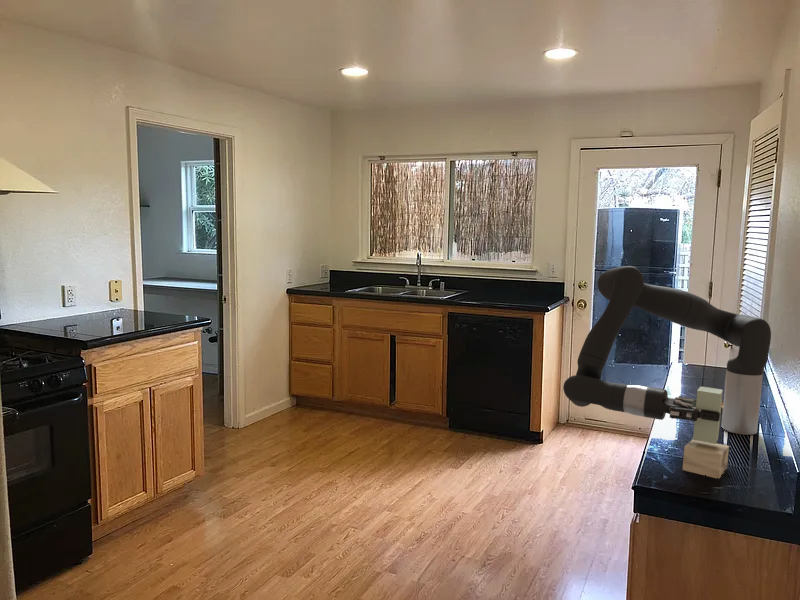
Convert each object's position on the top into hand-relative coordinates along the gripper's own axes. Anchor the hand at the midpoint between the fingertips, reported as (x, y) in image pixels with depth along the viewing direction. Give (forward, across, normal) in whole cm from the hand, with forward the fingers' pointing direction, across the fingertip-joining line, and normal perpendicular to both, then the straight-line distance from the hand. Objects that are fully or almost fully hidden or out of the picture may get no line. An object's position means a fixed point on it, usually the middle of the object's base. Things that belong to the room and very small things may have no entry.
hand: (720, 414), depth 153 cm
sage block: (-3, 0, +7) cm, 7 cm away
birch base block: (-2, 0, +14) cm, 14 cm away
